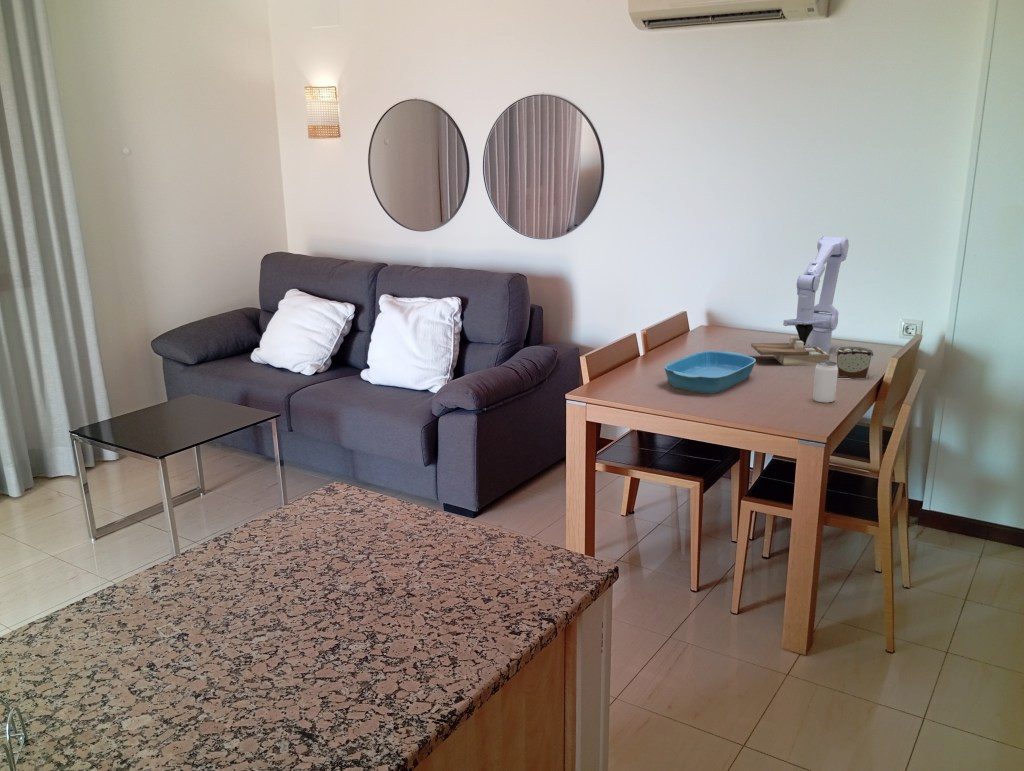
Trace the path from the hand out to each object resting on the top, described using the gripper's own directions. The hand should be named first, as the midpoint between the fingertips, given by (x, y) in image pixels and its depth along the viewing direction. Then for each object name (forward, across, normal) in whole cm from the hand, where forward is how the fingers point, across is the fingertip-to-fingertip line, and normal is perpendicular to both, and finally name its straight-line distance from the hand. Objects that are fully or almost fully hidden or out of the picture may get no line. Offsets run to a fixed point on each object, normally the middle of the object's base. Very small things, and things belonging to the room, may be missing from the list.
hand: (802, 344), depth 293 cm
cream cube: (+6, +4, +3) cm, 8 cm away
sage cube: (+6, +3, -3) cm, 7 cm away
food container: (+7, +11, -19) cm, 23 cm away
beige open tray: (+7, 0, 0) cm, 7 cm away
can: (+7, -7, -47) cm, 48 cm away
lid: (+2, -8, 0) cm, 8 cm away
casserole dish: (+7, -38, -25) cm, 46 cm away
